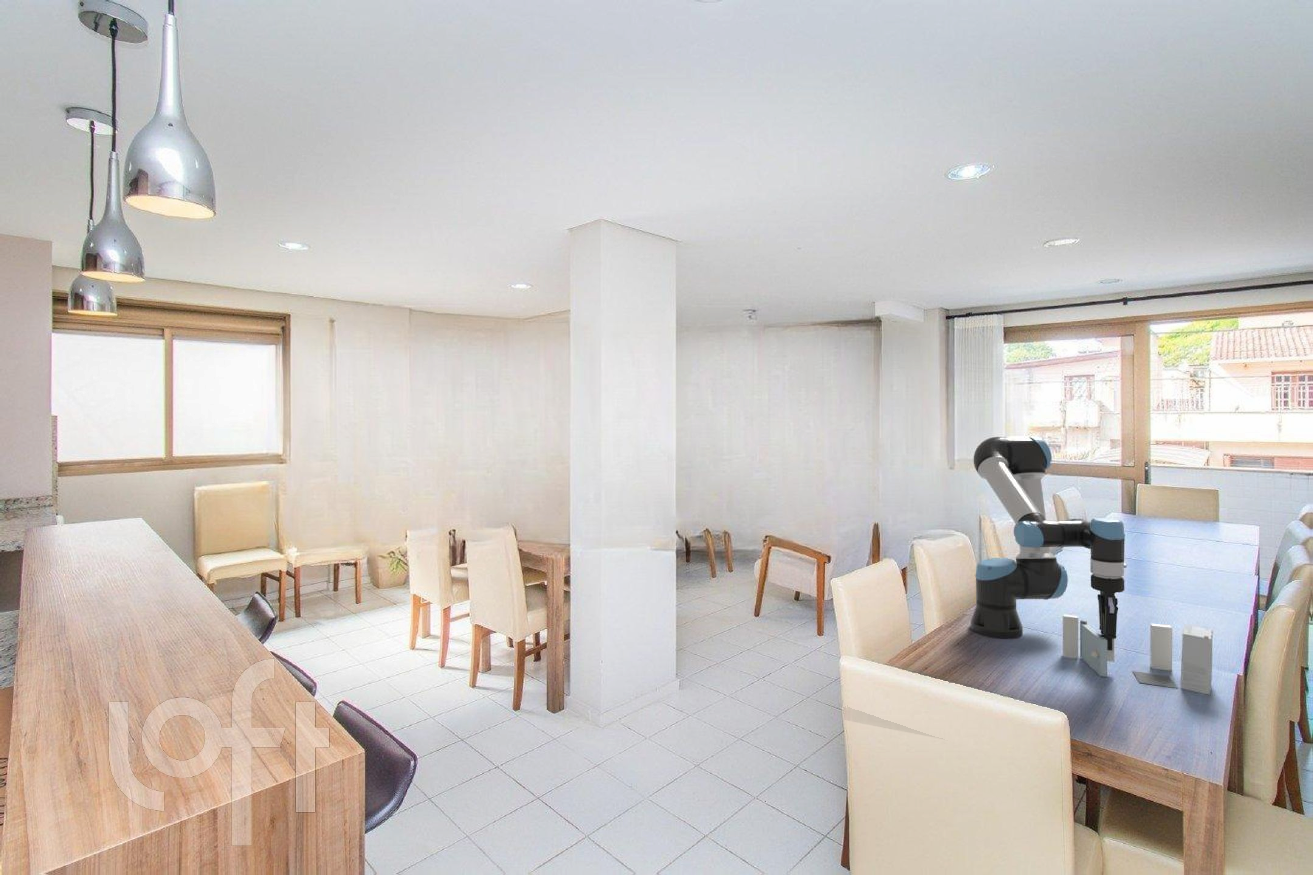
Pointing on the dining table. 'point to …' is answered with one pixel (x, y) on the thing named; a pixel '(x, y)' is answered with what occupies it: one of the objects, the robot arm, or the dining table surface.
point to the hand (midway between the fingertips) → (1107, 659)
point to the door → (1093, 648)
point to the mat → (1154, 679)
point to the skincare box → (1196, 659)
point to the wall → (1158, 642)
